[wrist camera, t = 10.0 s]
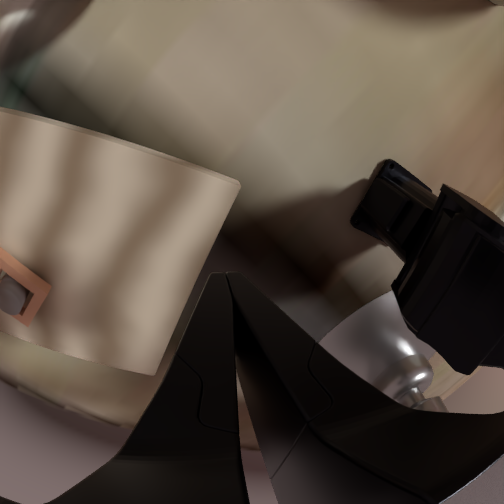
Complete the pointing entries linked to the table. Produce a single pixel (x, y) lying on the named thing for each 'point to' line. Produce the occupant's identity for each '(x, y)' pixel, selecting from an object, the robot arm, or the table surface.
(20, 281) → the pink l-shaped piece
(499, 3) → the reusable coffee cup
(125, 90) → the table surface
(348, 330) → the desk lamp
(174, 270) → the board
